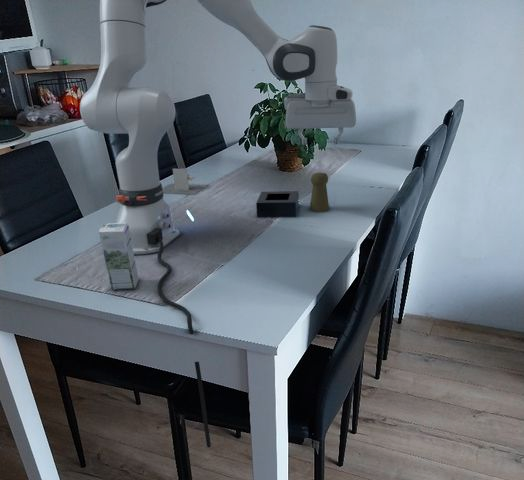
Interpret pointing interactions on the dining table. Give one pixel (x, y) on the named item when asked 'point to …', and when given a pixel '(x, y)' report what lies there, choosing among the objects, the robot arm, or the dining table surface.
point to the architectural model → (182, 183)
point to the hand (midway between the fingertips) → (320, 144)
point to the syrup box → (119, 255)
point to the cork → (319, 193)
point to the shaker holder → (278, 204)
